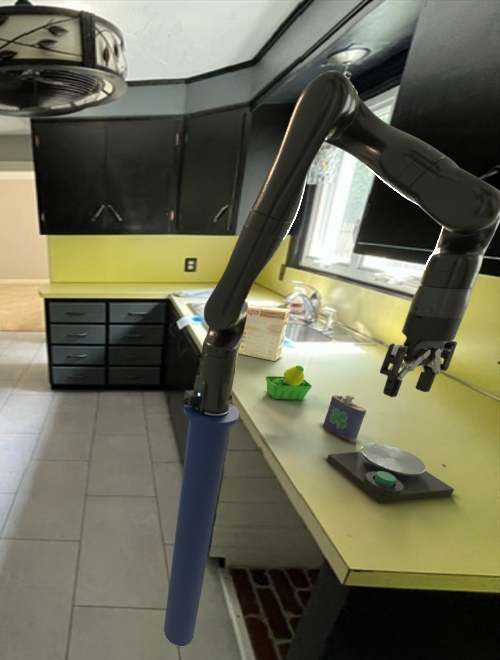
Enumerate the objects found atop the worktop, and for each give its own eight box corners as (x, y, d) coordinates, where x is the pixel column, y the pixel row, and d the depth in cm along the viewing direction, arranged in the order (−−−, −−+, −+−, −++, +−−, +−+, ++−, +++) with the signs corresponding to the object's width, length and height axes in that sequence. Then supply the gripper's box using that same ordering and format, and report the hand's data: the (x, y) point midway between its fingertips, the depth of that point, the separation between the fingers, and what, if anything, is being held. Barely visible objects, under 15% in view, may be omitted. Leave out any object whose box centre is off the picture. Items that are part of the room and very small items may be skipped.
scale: (378, 504, 69) (383, 492, 67) (324, 460, 82) (328, 448, 80) (453, 497, 71) (459, 484, 69) (389, 454, 84) (393, 443, 83)
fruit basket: (297, 391, 116) (305, 357, 112) (311, 403, 108) (321, 368, 104) (261, 390, 116) (268, 357, 112) (273, 402, 108) (281, 367, 104)
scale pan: (391, 478, 71) (392, 475, 71) (348, 447, 81) (349, 445, 81) (439, 473, 73) (440, 471, 72) (391, 443, 83) (392, 441, 82)
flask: (358, 442, 88) (371, 403, 84) (348, 444, 88) (361, 404, 84) (328, 424, 97) (339, 387, 92) (319, 425, 96) (329, 388, 92)
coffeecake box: (280, 357, 146) (291, 309, 139) (275, 361, 141) (285, 312, 134) (243, 349, 155) (251, 304, 148) (237, 353, 150) (245, 306, 143)
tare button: (383, 488, 69) (386, 481, 68) (370, 478, 72) (372, 471, 71) (397, 486, 69) (400, 480, 69) (383, 476, 72) (386, 470, 72)
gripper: (441, 305, 70) (412, 382, 77) (385, 309, 67) (360, 389, 73) (488, 313, 64) (453, 396, 70) (428, 318, 60) (397, 405, 67)
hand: (405, 393), depth 72 cm, fingers open, 8 cm apart
